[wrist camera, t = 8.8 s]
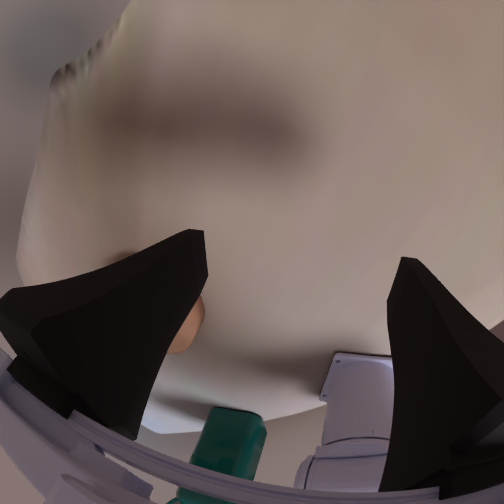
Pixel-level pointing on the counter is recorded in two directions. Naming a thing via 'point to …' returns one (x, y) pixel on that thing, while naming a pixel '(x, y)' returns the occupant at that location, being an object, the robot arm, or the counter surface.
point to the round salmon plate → (188, 329)
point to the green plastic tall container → (226, 450)
